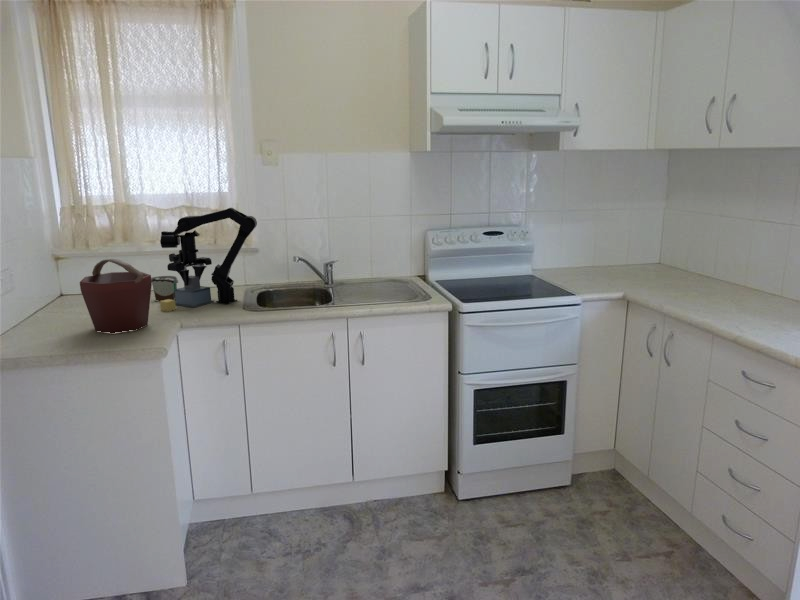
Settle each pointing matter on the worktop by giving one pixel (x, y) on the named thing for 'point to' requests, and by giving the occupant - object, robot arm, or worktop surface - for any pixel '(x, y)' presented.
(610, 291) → the worktop surface
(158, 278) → the food container
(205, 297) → the cover
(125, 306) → the bucket
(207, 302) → the mat
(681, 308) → the worktop surface
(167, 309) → the block
